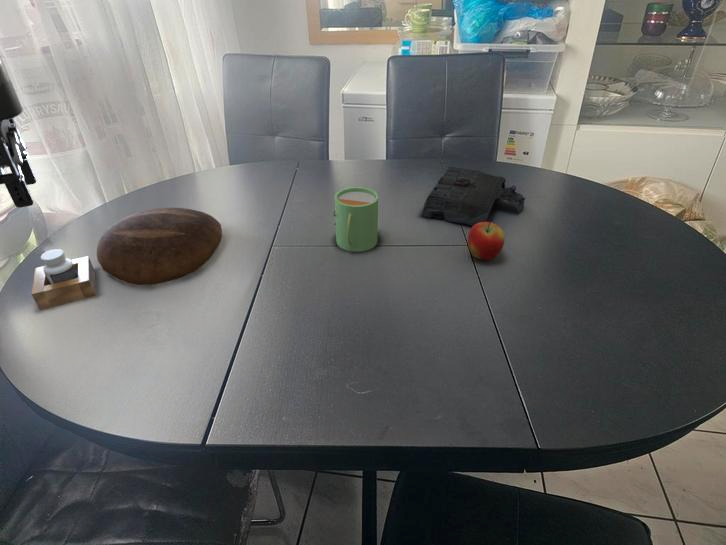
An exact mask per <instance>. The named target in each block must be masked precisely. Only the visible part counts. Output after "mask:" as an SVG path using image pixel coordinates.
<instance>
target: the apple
mask: <svg viewBox="0 0 726 545" xmlns="http://www.w3.org/2000/svg"><path fill="white" fill-rule="evenodd" d="M505 235H506V234H505V232H504V230H503V229H502V227H500V226H499V225H498V224H496V223H494V222H492V221H491V220H490V221H484V222H480V223H477V224H475V225H474V226H471V228H470V229H469V231H468V235H467V246H468V250H469V251H470V254H471V256H473V257H474V258H476V259H478V260H482V261H489V260H493V259H494V258H496V257H497V256H498V255H499V254H500V253H501V252H502V250H503V248H504V245H505V241H506V236H505Z"/></svg>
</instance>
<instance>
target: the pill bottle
mask: <svg viewBox="0 0 726 545" xmlns="http://www.w3.org/2000/svg"><path fill="white" fill-rule="evenodd" d="M40 260H41V262H42V264H44V265H43V266H44V267H43V271H44V273H45V275H46V277H47V279H48V281H49V283H50V284H54V283H59V282H63V281H67V280H71V279H75V278H78V273H77V271H76V269H75V266H74V264H73V262H72V261H71V260H72V259H70V258H68V257H67V256H66V254H65V252H64V251H63V250H62V249H59V248H55V249H50V250H47V251H45V252H44V253H42V254H41V255H40Z"/></svg>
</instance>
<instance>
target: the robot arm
mask: <svg viewBox="0 0 726 545" xmlns="http://www.w3.org/2000/svg"><path fill="white" fill-rule="evenodd" d="M23 111H24V109H23V106H22V104H21V102H20V99H19V97H18V94H17V92H16V89H15V87H14V85H13V82H12V79H11V77H10V75H9V72H8V70H7V68H6V65H5V63H4V61H3V59H2V57H1V55H0V185H5V188H6V190H7V192H8V194H9V196H10V198H11V200H12V202H13V204H14V206H15V207H16V208H26V207H31V206H33V205H34V198H33V196H32V194H31V192H30V190H29V188H28V186H29V185H30V186H31V185H35V184H36V183H37V177H36V175H35V173H34V171H33V168H32V166H31V164H30V162H29V160H28V159H29V153H28V146H27V144H26V143H25V141H24V139H23V137H22V133H21V132H20V130H19V128H18V126H17V123H16V121H15V118H17V117H19V116H20V115H22V114H23ZM5 168H9V169H10V172H9V173H5V170H4V169H5Z"/></svg>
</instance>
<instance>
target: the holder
mask: <svg viewBox="0 0 726 545" xmlns="http://www.w3.org/2000/svg"><path fill="white" fill-rule="evenodd" d="M70 260H71V261H72V262H73V264H74V266H75V269H76V271H77V273H78V278H75V279H71V280H67V281H63V282H59V283H54V284H50V283H49V281H48V279H47V277H46V275H45V273H44V271H43V267H44V265H42V266H39V267H35V268H34V275H33V276H34V277H33V282H32V289H31V297H32V298H33V300H34V302H35V304H36V305H37V308H38V309H39V310H45V309H49V308H53V307H57V306H61V305H64V304H68V303H72V302H76V301H80V300H83V299H84V300H85V299H88V298H92V297H96V294H97V293H96V270H95V268H94V266H93V264H92V263H93V262H92V261H91V259H90V256H89V255H86V256H83V257H78V258H73V259H70Z"/></svg>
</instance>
